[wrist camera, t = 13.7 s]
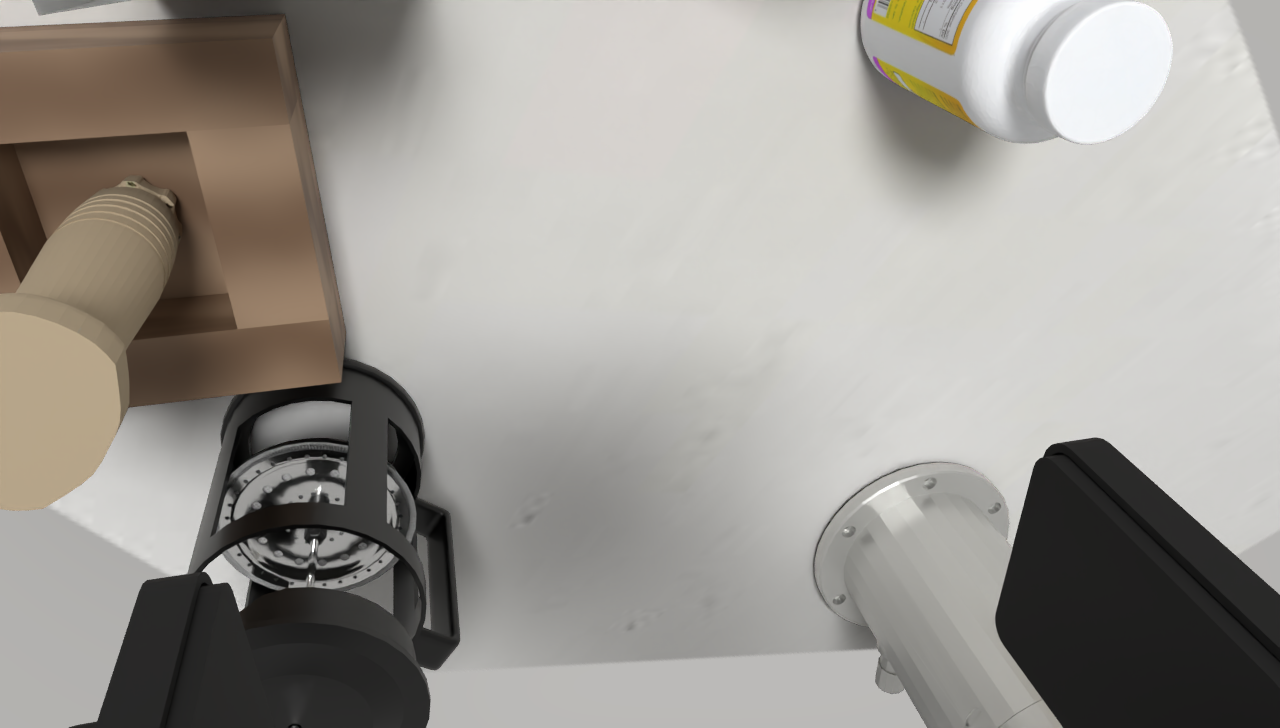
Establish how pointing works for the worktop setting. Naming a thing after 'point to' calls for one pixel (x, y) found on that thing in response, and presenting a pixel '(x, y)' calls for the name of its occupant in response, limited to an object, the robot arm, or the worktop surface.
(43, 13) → the grater
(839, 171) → the worktop surface
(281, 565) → the french press
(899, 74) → the supplement bottle
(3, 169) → the socket block
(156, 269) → the handle
